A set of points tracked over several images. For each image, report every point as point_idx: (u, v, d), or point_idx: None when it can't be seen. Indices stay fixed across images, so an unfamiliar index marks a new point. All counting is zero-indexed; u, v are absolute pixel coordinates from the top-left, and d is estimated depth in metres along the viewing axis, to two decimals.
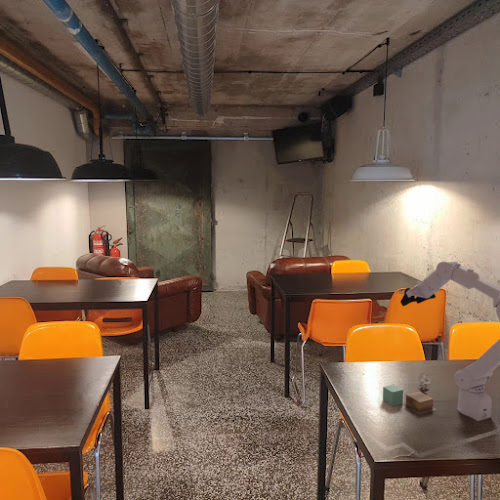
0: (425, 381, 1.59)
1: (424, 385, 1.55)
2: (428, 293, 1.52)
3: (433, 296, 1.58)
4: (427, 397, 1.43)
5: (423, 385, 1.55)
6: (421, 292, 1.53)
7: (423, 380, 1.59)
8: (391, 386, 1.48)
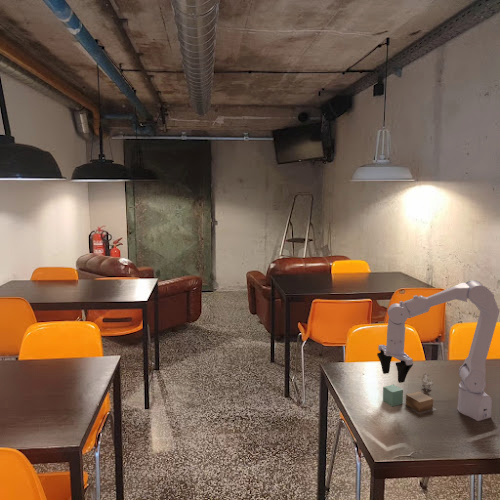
0: (427, 381, 1.58)
1: (427, 386, 1.54)
2: None
3: None
4: (427, 397, 1.43)
5: (426, 386, 1.54)
6: (402, 352, 1.43)
7: (425, 381, 1.58)
8: (391, 386, 1.48)
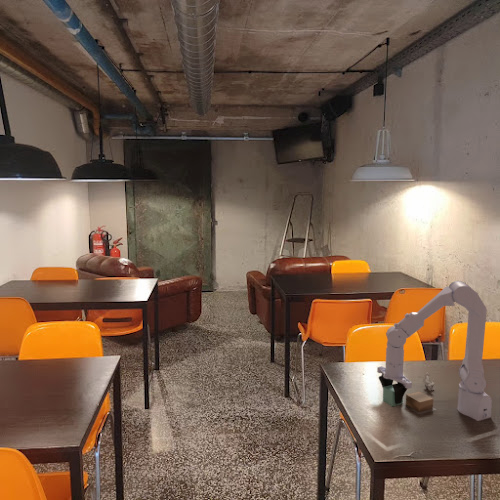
0: (430, 382, 1.58)
1: (430, 386, 1.54)
2: None
3: None
4: (427, 397, 1.43)
5: (429, 386, 1.54)
6: (401, 375, 1.43)
7: (428, 381, 1.58)
8: (391, 386, 1.47)
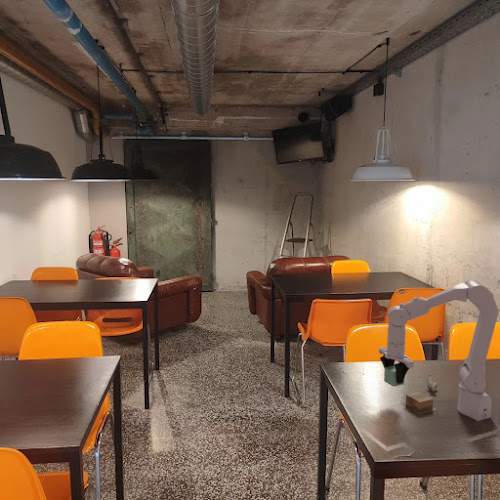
0: None
1: (434, 387, 1.53)
2: None
3: None
4: (427, 397, 1.43)
5: (433, 387, 1.53)
6: (403, 355, 1.42)
7: (431, 382, 1.58)
8: (392, 367, 1.46)
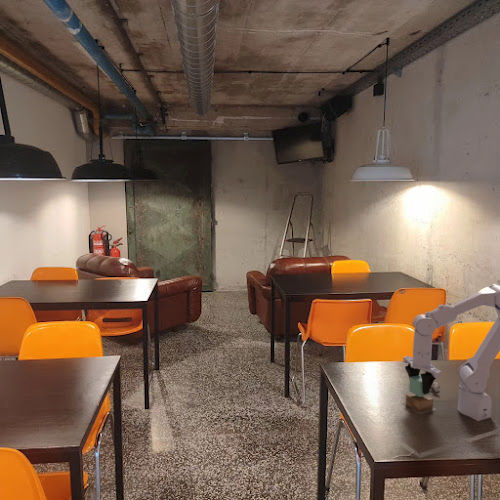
0: (435, 383, 1.57)
1: (437, 387, 1.53)
2: None
3: None
4: (427, 397, 1.43)
5: (436, 387, 1.53)
6: (429, 364, 1.40)
7: (433, 382, 1.57)
8: (418, 376, 1.44)
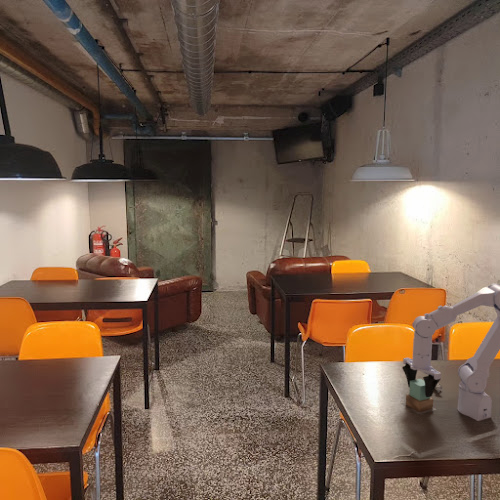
0: None
1: (439, 387, 1.53)
2: None
3: None
4: None
5: (438, 388, 1.53)
6: (429, 366, 1.40)
7: None
8: (418, 380, 1.44)
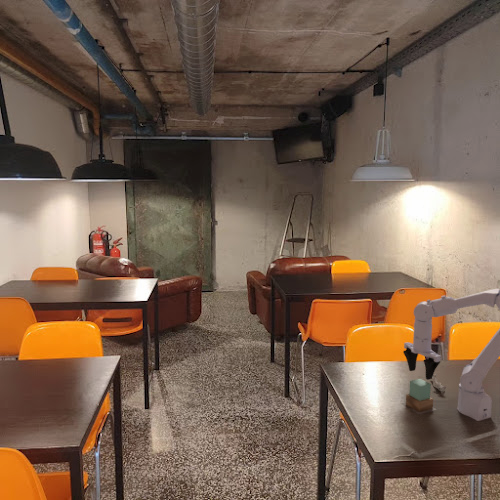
0: (439, 383, 1.57)
1: (443, 388, 1.52)
2: None
3: None
4: None
5: (442, 388, 1.52)
6: (430, 349, 1.45)
7: (437, 382, 1.57)
8: (418, 380, 1.44)
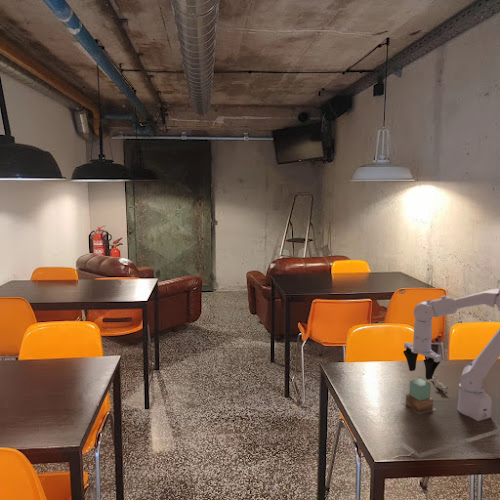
0: (441, 383, 1.57)
1: (445, 388, 1.52)
2: None
3: None
4: None
5: (444, 388, 1.52)
6: (430, 349, 1.45)
7: (439, 383, 1.57)
8: (418, 380, 1.44)
